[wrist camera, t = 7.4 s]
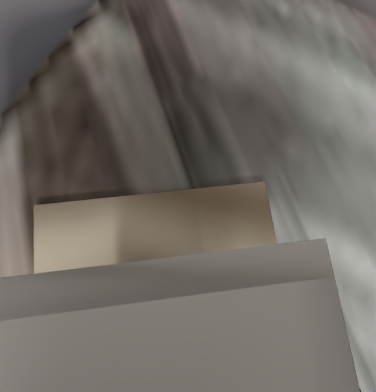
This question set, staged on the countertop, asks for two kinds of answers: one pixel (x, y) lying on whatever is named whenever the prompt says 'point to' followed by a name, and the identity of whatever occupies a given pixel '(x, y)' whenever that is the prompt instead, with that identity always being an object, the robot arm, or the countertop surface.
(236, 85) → the countertop surface
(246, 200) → the flat beige box
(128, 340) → the tall white carton
